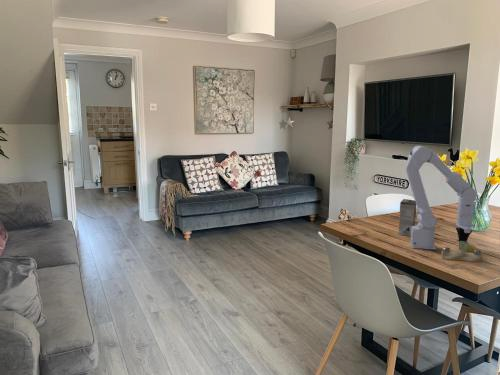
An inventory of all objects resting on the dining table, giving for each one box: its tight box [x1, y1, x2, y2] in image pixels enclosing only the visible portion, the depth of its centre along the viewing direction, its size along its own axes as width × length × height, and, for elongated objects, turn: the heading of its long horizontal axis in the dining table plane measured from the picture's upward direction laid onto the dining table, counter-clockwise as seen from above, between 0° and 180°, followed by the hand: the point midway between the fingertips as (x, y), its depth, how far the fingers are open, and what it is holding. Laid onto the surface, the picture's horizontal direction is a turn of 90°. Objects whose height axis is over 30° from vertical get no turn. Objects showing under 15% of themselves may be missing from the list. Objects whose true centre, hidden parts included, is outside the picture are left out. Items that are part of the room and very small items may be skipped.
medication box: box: [458, 240, 482, 253], centre depth 160 cm, size 12×3×4 cm, turn 179°
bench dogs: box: [442, 246, 482, 255], centre depth 154 cm, size 13×2×4 cm, turn 72°
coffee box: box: [398, 198, 417, 237], centre depth 189 cm, size 9×6×16 cm
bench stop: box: [441, 249, 483, 263], centre depth 154 cm, size 14×2×2 cm, turn 72°
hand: (462, 244), depth 167 cm, fingers closed
